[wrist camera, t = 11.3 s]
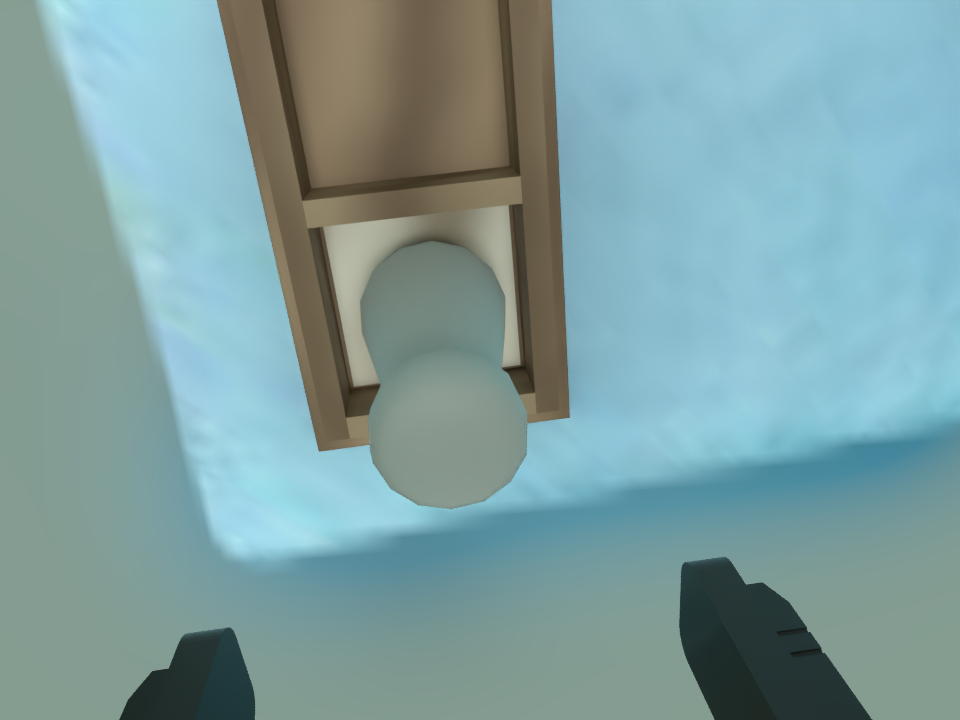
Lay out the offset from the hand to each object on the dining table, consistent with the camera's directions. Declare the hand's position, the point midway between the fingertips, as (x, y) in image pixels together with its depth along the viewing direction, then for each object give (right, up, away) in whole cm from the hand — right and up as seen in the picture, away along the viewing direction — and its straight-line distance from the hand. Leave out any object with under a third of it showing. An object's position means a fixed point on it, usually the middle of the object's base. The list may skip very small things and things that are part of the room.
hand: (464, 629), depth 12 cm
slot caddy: (-3, +12, +16) cm, 20 cm away
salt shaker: (-2, +8, +17) cm, 19 cm away
